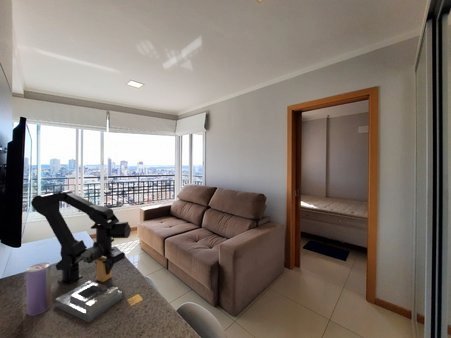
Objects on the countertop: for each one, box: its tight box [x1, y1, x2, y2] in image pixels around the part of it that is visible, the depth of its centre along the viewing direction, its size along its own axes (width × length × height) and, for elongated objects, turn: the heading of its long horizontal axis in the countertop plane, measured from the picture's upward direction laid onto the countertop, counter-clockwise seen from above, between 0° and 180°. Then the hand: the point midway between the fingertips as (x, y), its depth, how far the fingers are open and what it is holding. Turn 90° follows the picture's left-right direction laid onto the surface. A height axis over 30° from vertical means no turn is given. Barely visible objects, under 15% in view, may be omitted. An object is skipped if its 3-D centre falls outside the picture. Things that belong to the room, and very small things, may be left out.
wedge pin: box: [94, 256, 113, 283], centre depth 84 cm, size 5×5×9 cm
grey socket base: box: [54, 280, 123, 323], centre depth 70 cm, size 18×12×4 cm, turn 68°
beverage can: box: [25, 262, 52, 317], centre depth 66 cm, size 6×6×15 cm
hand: (104, 273), depth 84 cm, fingers closed on wedge pin, 4 cm apart
